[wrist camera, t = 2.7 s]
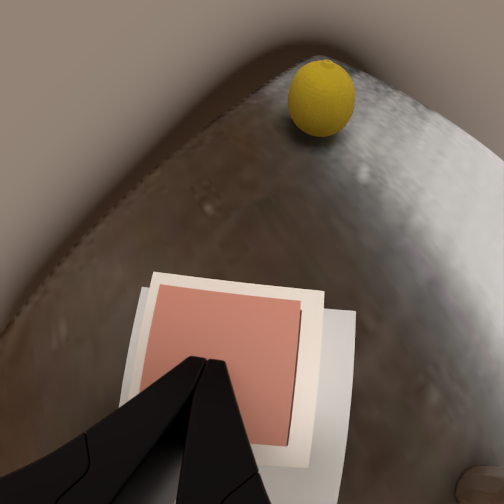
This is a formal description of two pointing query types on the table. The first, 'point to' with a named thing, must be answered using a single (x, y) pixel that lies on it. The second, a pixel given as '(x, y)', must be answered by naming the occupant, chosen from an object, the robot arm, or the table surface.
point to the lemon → (321, 98)
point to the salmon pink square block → (231, 350)
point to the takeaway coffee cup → (481, 486)
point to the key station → (304, 389)
